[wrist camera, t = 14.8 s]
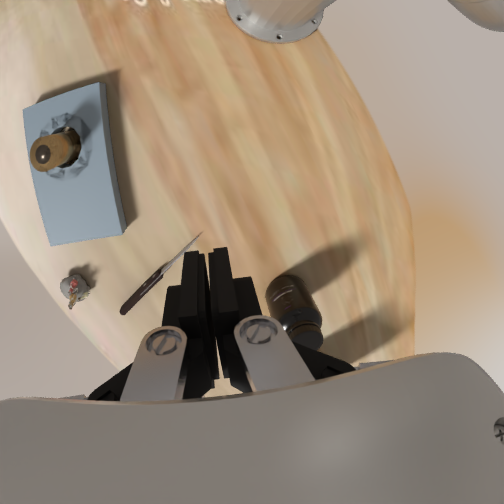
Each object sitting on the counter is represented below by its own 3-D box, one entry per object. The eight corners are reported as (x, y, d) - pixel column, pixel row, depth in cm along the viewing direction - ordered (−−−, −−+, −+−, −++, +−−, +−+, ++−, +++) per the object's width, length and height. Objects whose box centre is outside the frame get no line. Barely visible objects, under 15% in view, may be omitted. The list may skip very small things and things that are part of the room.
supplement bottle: (275, 268, 44) (297, 319, 33) (312, 279, 46) (341, 328, 35) (257, 303, 46) (272, 358, 36) (293, 312, 48) (315, 363, 38)
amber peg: (58, 134, 29) (27, 142, 22) (82, 127, 30) (54, 132, 23) (62, 162, 31) (32, 175, 24) (86, 155, 32) (59, 167, 25)
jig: (32, 108, 27) (22, 109, 24) (105, 83, 28) (99, 81, 26) (57, 239, 36) (50, 246, 34) (126, 227, 37) (122, 234, 35)
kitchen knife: (125, 309, 43) (123, 316, 42) (121, 305, 43) (118, 313, 41) (201, 236, 40) (201, 241, 38) (196, 231, 39) (196, 237, 38)
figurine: (61, 288, 39) (53, 311, 34) (64, 266, 38) (55, 288, 33) (89, 297, 42) (84, 320, 37) (94, 275, 40) (88, 298, 35)
